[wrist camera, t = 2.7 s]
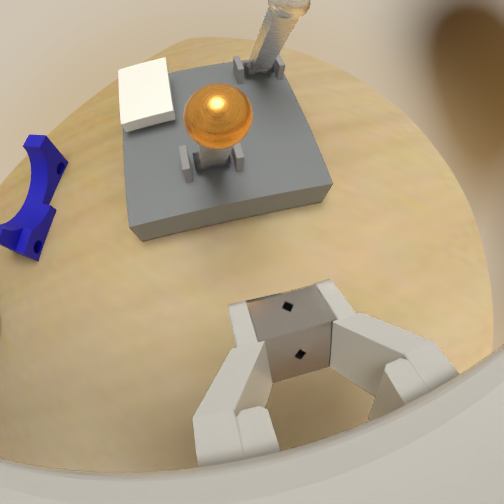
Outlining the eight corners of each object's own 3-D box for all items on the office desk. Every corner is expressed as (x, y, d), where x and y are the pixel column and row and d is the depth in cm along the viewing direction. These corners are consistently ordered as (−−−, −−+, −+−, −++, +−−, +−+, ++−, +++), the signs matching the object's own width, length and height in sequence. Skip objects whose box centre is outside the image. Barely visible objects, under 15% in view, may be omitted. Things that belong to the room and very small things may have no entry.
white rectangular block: (126, 132, 25) (120, 124, 24) (122, 79, 26) (118, 69, 24) (175, 119, 26) (173, 110, 24) (167, 67, 26) (165, 57, 24)
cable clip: (39, 261, 26) (6, 246, 21) (14, 251, 26) (-17, 236, 21) (77, 164, 30) (55, 136, 24) (52, 160, 30) (29, 134, 24)
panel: (142, 241, 27) (120, 217, 21) (131, 106, 32) (118, 72, 26) (321, 202, 30) (340, 171, 24) (272, 80, 34) (277, 44, 28)
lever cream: (246, 83, 29) (278, 4, 14) (241, 61, 28) (268, -24, 13) (273, 80, 29) (321, 6, 14) (267, 58, 29) (309, -22, 14)
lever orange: (197, 179, 25) (187, 149, 11) (191, 147, 25) (175, 80, 10) (231, 172, 26) (265, 134, 11) (224, 140, 25) (250, 67, 10)
